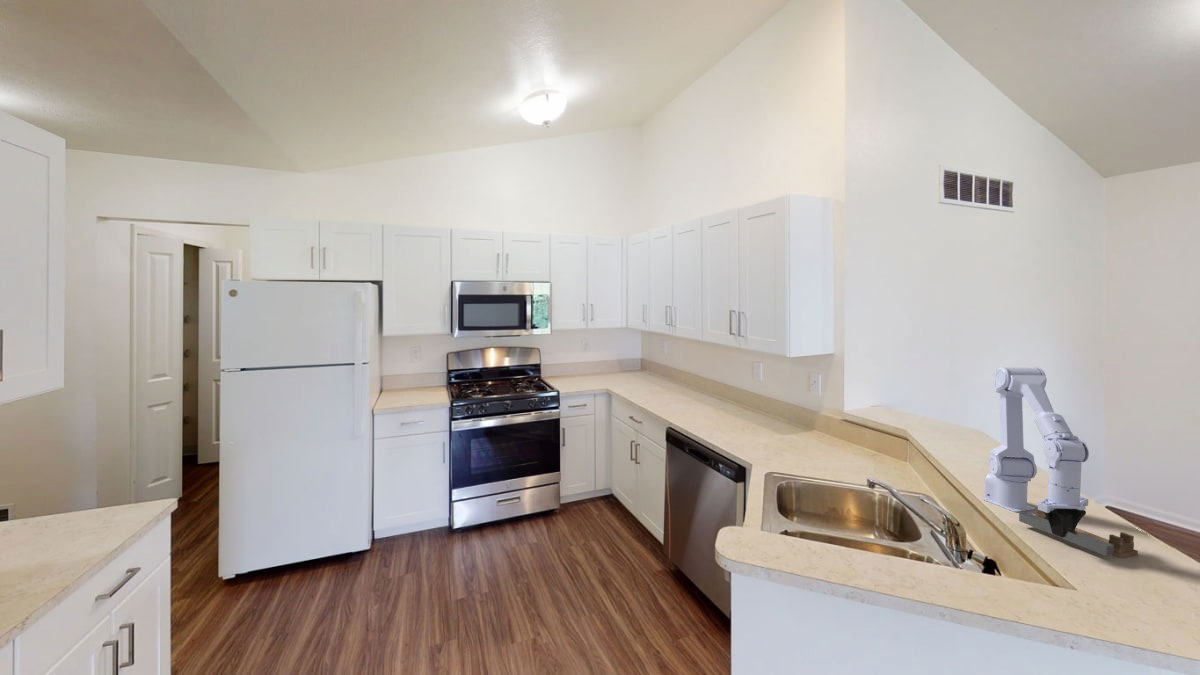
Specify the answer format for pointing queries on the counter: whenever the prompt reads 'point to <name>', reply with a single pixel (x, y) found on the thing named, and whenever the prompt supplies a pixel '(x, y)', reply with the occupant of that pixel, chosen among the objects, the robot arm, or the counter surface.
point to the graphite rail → (1069, 534)
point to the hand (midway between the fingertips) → (1062, 534)
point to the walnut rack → (1110, 541)
